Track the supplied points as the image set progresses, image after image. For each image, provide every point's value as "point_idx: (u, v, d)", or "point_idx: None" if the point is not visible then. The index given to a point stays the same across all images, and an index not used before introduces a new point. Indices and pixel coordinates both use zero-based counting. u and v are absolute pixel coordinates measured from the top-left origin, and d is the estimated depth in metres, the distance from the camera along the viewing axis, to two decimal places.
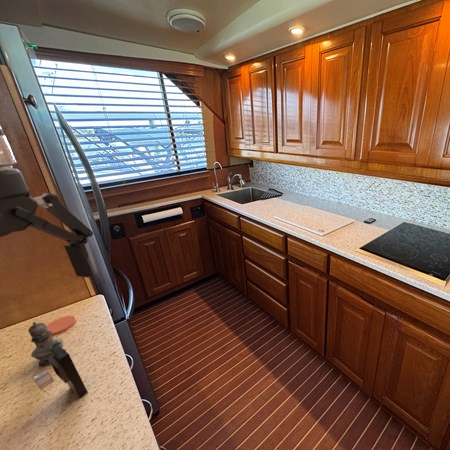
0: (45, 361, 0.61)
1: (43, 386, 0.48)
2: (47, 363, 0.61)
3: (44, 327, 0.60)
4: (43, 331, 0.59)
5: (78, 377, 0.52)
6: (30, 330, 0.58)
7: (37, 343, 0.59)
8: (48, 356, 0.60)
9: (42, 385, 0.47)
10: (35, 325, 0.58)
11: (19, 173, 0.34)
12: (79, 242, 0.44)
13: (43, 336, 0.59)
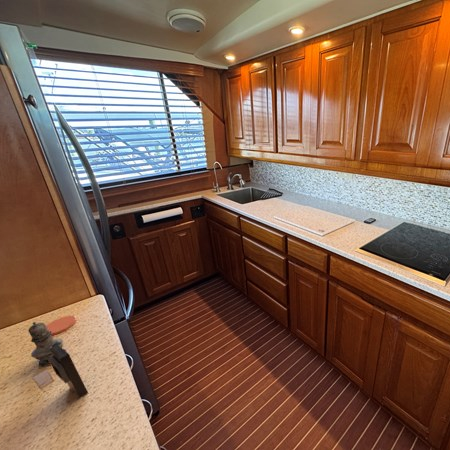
0: (45, 361, 0.61)
1: (43, 386, 0.48)
2: (47, 363, 0.61)
3: (44, 327, 0.60)
4: (43, 331, 0.59)
5: (78, 377, 0.52)
6: (30, 330, 0.58)
7: (37, 343, 0.59)
8: (48, 356, 0.60)
9: (42, 385, 0.47)
10: (35, 325, 0.58)
11: None
12: None
13: (43, 336, 0.59)
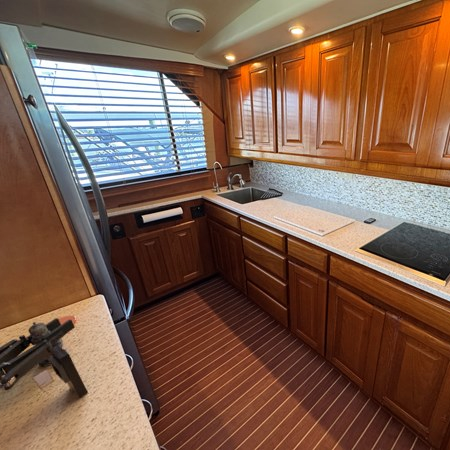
0: (45, 361, 0.61)
1: (43, 386, 0.48)
2: (47, 363, 0.61)
3: (44, 327, 0.60)
4: (43, 331, 0.59)
5: (78, 377, 0.52)
6: (30, 330, 0.58)
7: (37, 343, 0.59)
8: (48, 356, 0.60)
9: (42, 385, 0.47)
10: (35, 325, 0.58)
11: None
12: None
13: (43, 336, 0.59)
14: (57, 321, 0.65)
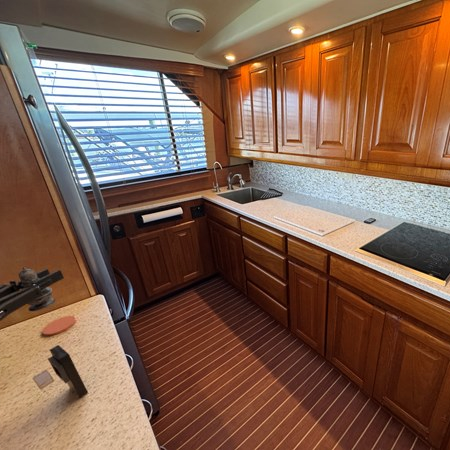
0: (35, 307, 0.64)
1: (43, 386, 0.48)
2: (36, 308, 0.64)
3: (33, 273, 0.62)
4: (32, 277, 0.62)
5: (78, 377, 0.52)
6: (20, 274, 0.61)
7: None
8: (37, 301, 0.63)
9: (42, 385, 0.47)
10: (25, 270, 0.61)
11: None
12: None
13: (32, 281, 0.62)
14: (47, 271, 0.68)
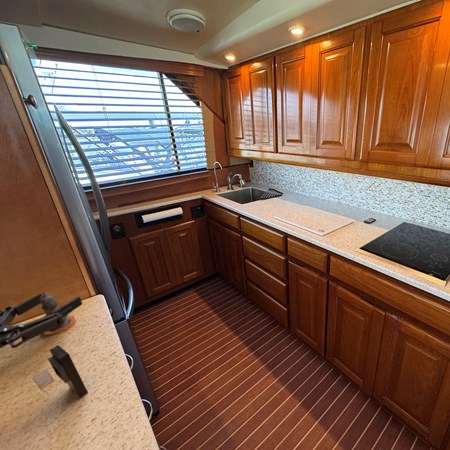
0: None
1: (43, 386, 0.48)
2: (55, 328, 0.71)
3: (52, 297, 0.70)
4: (51, 300, 0.70)
5: (78, 377, 0.52)
6: (41, 298, 0.68)
7: (46, 310, 0.69)
8: None
9: (42, 385, 0.47)
10: (45, 295, 0.69)
11: None
12: None
13: (51, 304, 0.70)
14: None
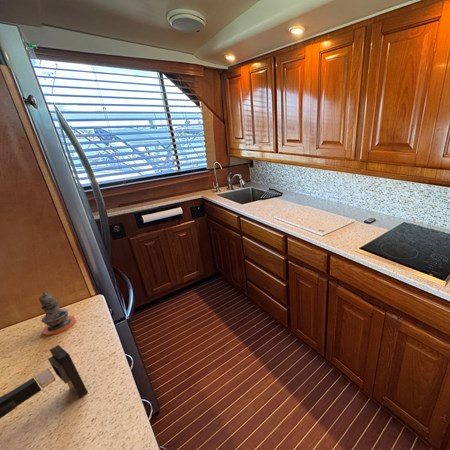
0: (53, 327, 0.71)
1: (45, 385, 0.48)
2: (55, 328, 0.71)
3: (52, 297, 0.70)
4: (51, 300, 0.70)
5: (78, 377, 0.52)
6: (41, 298, 0.68)
7: (46, 310, 0.69)
8: (56, 322, 0.70)
9: (44, 384, 0.48)
10: (45, 295, 0.69)
11: None
12: None
13: (51, 304, 0.70)
14: None
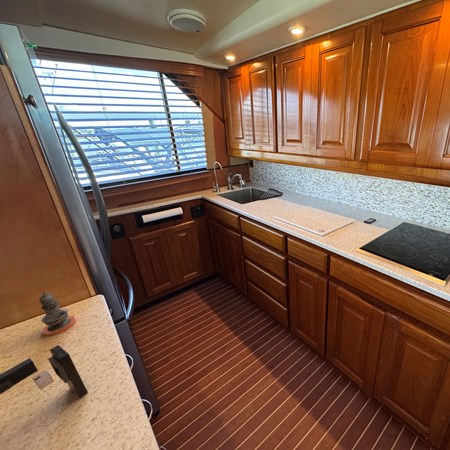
0: (53, 327, 0.71)
1: (43, 386, 0.48)
2: (55, 328, 0.71)
3: (52, 297, 0.70)
4: (51, 300, 0.70)
5: (78, 377, 0.52)
6: (41, 298, 0.68)
7: (46, 310, 0.69)
8: (56, 322, 0.70)
9: (42, 385, 0.47)
10: (45, 295, 0.69)
11: None
12: None
13: (51, 304, 0.70)
14: None
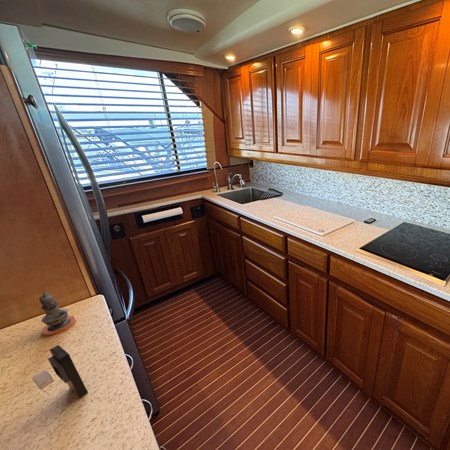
0: (53, 327, 0.71)
1: (43, 386, 0.48)
2: (55, 328, 0.71)
3: (52, 297, 0.70)
4: (51, 300, 0.70)
5: (78, 377, 0.52)
6: (41, 298, 0.68)
7: (46, 310, 0.69)
8: (56, 322, 0.70)
9: (42, 385, 0.47)
10: (45, 295, 0.69)
11: None
12: None
13: (51, 304, 0.70)
14: None
